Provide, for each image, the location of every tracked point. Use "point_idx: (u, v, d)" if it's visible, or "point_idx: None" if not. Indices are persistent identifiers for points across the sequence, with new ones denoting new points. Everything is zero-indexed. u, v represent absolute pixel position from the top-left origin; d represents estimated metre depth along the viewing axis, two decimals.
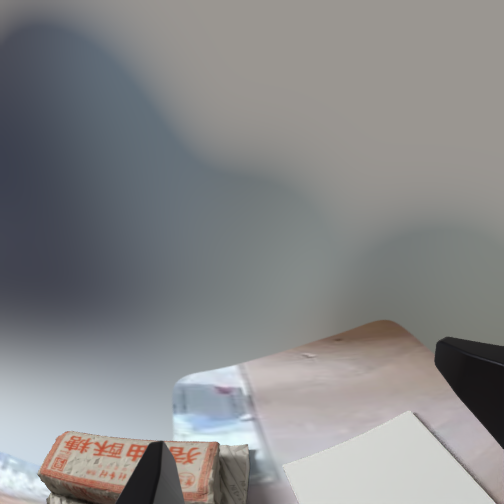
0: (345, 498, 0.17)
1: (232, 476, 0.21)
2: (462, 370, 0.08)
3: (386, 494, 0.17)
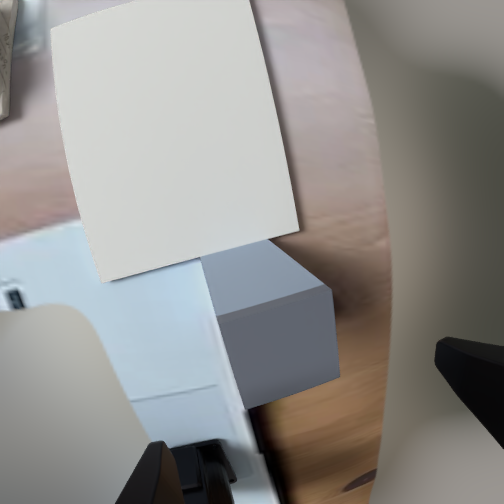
0: (107, 84, 0.15)
1: None
2: (462, 370, 0.08)
3: (159, 93, 0.15)
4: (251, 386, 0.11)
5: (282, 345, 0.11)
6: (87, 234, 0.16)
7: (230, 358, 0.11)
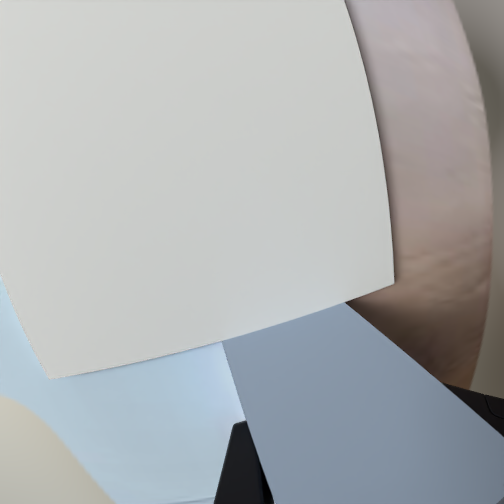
0: (47, 14, 0.06)
1: None
2: None
3: (142, 20, 0.07)
4: None
5: None
6: (12, 298, 0.08)
7: None
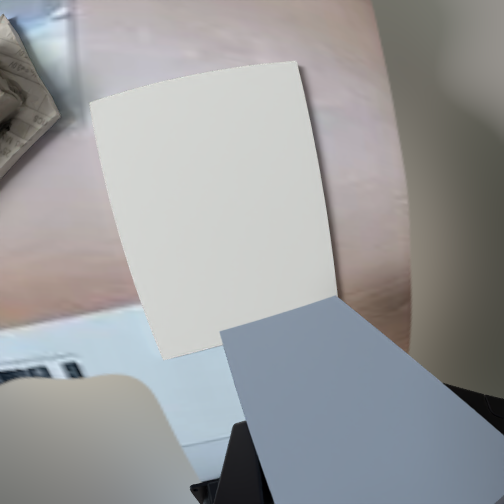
0: (161, 176, 0.17)
1: (6, 55, 0.12)
2: None
3: (216, 187, 0.17)
4: None
5: None
6: (149, 320, 0.18)
7: None
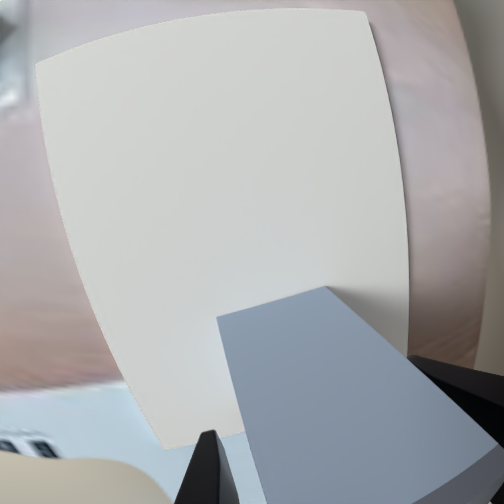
0: (150, 183, 0.09)
1: None
2: None
3: (245, 202, 0.10)
4: None
5: None
6: (140, 405, 0.11)
7: None
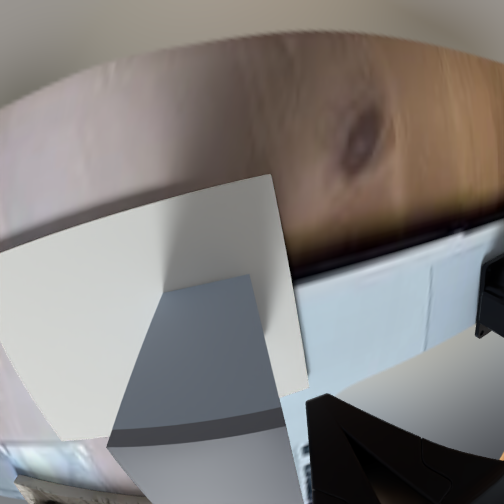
0: (109, 395, 0.15)
1: None
2: None
3: (110, 349, 0.14)
4: None
5: (199, 491, 0.06)
6: None
7: None
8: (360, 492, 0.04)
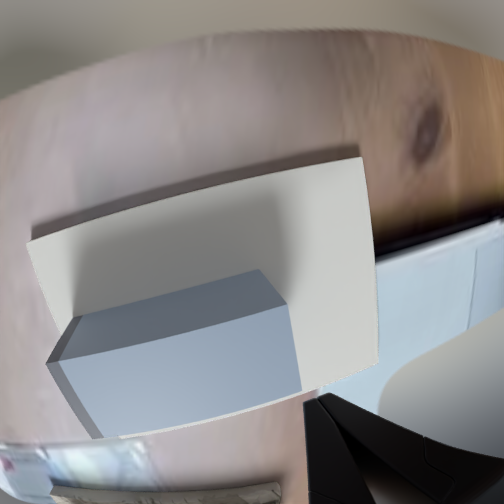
0: None
1: None
2: None
3: None
4: None
5: None
6: (335, 380, 0.17)
7: None
8: (356, 494, 0.04)
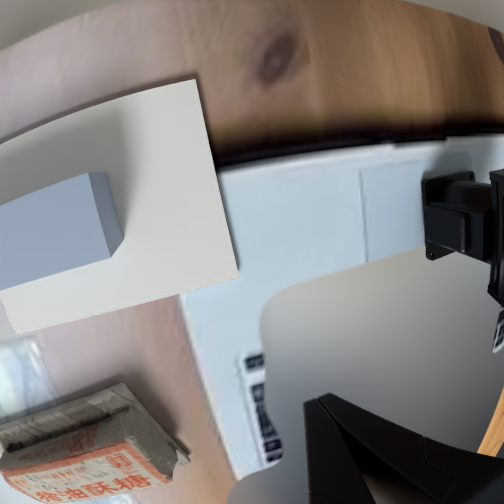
0: (58, 274, 0.17)
1: None
2: None
3: None
4: None
5: None
6: (191, 288, 0.19)
7: None
8: (356, 494, 0.04)
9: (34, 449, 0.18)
